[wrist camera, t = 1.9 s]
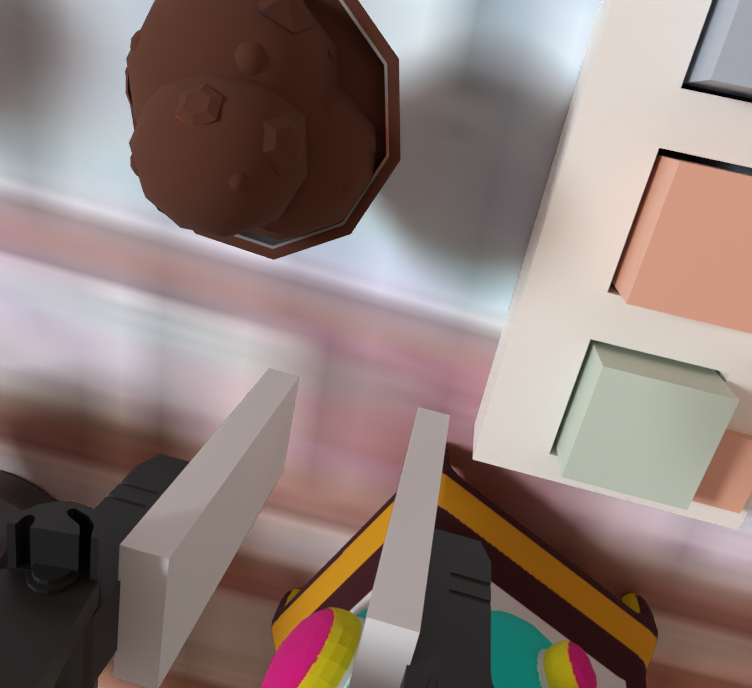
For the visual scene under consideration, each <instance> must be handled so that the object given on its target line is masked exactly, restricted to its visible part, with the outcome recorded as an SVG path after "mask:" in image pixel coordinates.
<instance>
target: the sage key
mask: <svg viewBox="0 0 752 688" xmlns="http://www.w3.org/2000/svg"><path fill="white" fill-rule="evenodd" d="M739 401H740V400H739V399H738V397H737V396H736V395H735V394H734V393H733V391H732V390H731V389H730V388H729V387H728V386H727V384H726V383H725V382H724V381H723V380H722V378H721V377H720V376H719V375H718V374H717V372H716V371H715V370H714V369H710V368H706V367H702V366H698V365H694V364H690V363H685V362H681V361H677V360H673V359H669V358H665V357H661V356H657V355H653V354H649V353H645V352H641V351H637V350H632V349H628V348H624V347H620V346H616V345H612V344H608V343H604V342H600V341H596V340H592V339H590V342H589V345H588V348H587V350H586V353H585V356H584V359H583V362H582V364H581V367H580V370H579V373H578V376H577V378H576V381H575V384H574V387H573V389H572V392H571V395H570V398H569V401H568V403H567V406H566V409H565V412H564V415H563V417H562V420H561V423H560V426H559V428H558V431H557V434H556V437H555V444H556V449H557V455H558V460H559V465H560V471H561V476H562V477H564V478H567V479H571V480H575V481H579V482H582V483H586V484H590V485H594V486H597V487H601V488H605V489H609V490H613V491H616V492H620V493H624V494H628V495H631V496H635V497H639V498H643V499H646V500H650V501H654V502H658V503H661V504H665V505H669V506H673V507H677V508H680V509H684V510H688V507H689V505H690V503H691V501H692V499H693V497H694V495H695V493H696V491H697V489H698V487H699V485H700V482H701V480H702V478H703V476H704V474H705V472H706V470H707V468H708V466H709V464H710V462H711V459H712V457H713V455H714V453H715V451H716V449H717V447H718V445H719V443H720V441H721V439H722V436H723V434H724V432H725V430H726V428H727V426H728V424H729V422H730V420H731V418H732V416H733V414H734V411H735V409H736V407H737V405H738V403H739Z"/></svg>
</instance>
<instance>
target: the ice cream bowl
mask: <svg viewBox="0 0 752 688" xmlns="http://www.w3.org/2000/svg"><path fill="white" fill-rule="evenodd" d="M130 48H131V50H130V52H129V54H128V56H127V58H126V59H127V68H126V71H125V74H126V95H127V97H128V100H129V103H130V106H131V112H132V118H133V125H134V132H133V135H132V137H131V139H130V142H129V145H130V148H131V152H132V155H131V168H132V169H133V171H134V173H135V174H136V175H137V176H138V177H139V179H140V183H141V186H142V189H143V192H144V194H145V197H146V198H147V199H148V200H149V201H150V202H152V203H153V204H154V205H155V206H156V207H157V209H158V210H159V211H161V212H162V213H164V214H165V215H167V216H168V217H169V218H170V219H171V220H172V221H174V222H175V223H176V224H177V225H178V226H179V227H180V228H185V229H190V230H193V231H194V232H195V233H196V234H199V235H202V236H205V237H208V238H211V239H214V240H217V241H220V242H223V243H226V244H229V245H232V246H235V247H237V248H240V249H243V250H246V251H249V252H252V253H255V254H258V255H261V256H264V257H267V258H270V259H273V260H274V259H277V258H280V257H283V256H286V255H289V254H292V253H295V252H298V251H301V250H304V249H307V248H310V247H313V246H316V245H319V244H322V243H325V242H328V241H331V240H334V239H337V238H340V237H343V236H346V235H349V234H351V233H352V231H353V230H354V228H355V227H356V225H357V224H358V222H359V221H360V219H361V218H362V216H363V215H364V213H365V212H366V210H367V209H368V207H369V206H370V204H371V203H372V201H373V200H374V198H375V197H376V195H377V194H378V192H379V191H380V189H381V188H382V186H383V185H384V184H385V182H386V181H387V179H388V178H389V176H390V175H391V173H392V172H393V170H394V169H395V167H396V166H397V164H398V163H399V161H400V106H399V59H398V57H397V56H396V54H395V53H394V51H393V50H392V49H391V47H390V46H389V44H388V43H387V41H386V40H385V38H384V37H383V36H382V34H381V33H380V31H379V30H378V28H377V27H376V25H375V24H374V23H373V21H372V20H371V18H370V17H369V15H368V14H367V12H366V11H365V10H364V8H363V7H362V5H361V4H360V2H359V1H358V0H155V1H154V3H153V5H152V7H151V9H150V11H149V13H148V15H147V17H146V20H145V22H144V24H143V26H142V28H141V30H139V31H137V32H136V33H135V34H134V36H133V37H132V38H131V45H130Z"/></svg>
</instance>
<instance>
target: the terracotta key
mask: <svg viewBox="0 0 752 688" xmlns="http://www.w3.org/2000/svg"><path fill="white" fill-rule="evenodd" d="M611 282H612V283H613V285H614V286H615V287H616V289H617V290H618V292H619V293H620V295H621V296H622V298H623V299H624V301H625V302H626V304H629V305H634V306H638V307H642V308H646V309H650V310H655V311H659V312H663V313H667V314H671V315H675V316H680V317H684V318H688V319H692V320H696V321H701V322H705V323H709V324H713V325H717V326H721V327H726V328H730V329H734V330H738V331H742V332H747V333H751V334H752V175H750V174H746V173H741V172H737V171H732V170H727V169H723V168H718V167H714V166H709V165H704V164H700V163H695V162H691V161H686V160H681V159H677V158H672V157H668V156H663V155H659V154H657V155H656V158H655V161H654V164H653V167H652V169H651V172H650V175H649V178H648V181H647V183H646V186H645V189H644V192H643V194H642V197H641V200H640V203H639V206H638V208H637V211H636V214H635V217H634V220H633V222H632V225H631V228H630V231H629V233H628V236H627V239H626V242H625V245H624V247H623V250H622V253H621V256H620V259H619V261H618V264H617V267H616V270H615V272H614V275H613V278H612V281H611Z"/></svg>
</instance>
